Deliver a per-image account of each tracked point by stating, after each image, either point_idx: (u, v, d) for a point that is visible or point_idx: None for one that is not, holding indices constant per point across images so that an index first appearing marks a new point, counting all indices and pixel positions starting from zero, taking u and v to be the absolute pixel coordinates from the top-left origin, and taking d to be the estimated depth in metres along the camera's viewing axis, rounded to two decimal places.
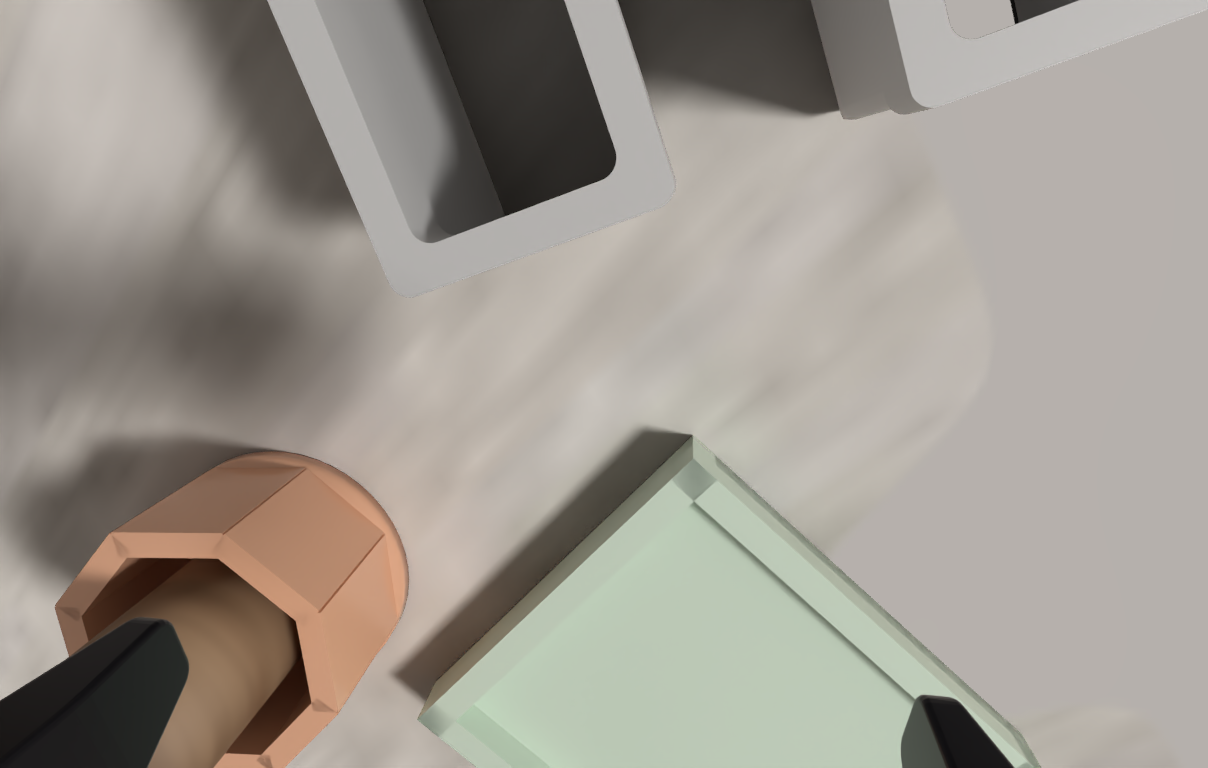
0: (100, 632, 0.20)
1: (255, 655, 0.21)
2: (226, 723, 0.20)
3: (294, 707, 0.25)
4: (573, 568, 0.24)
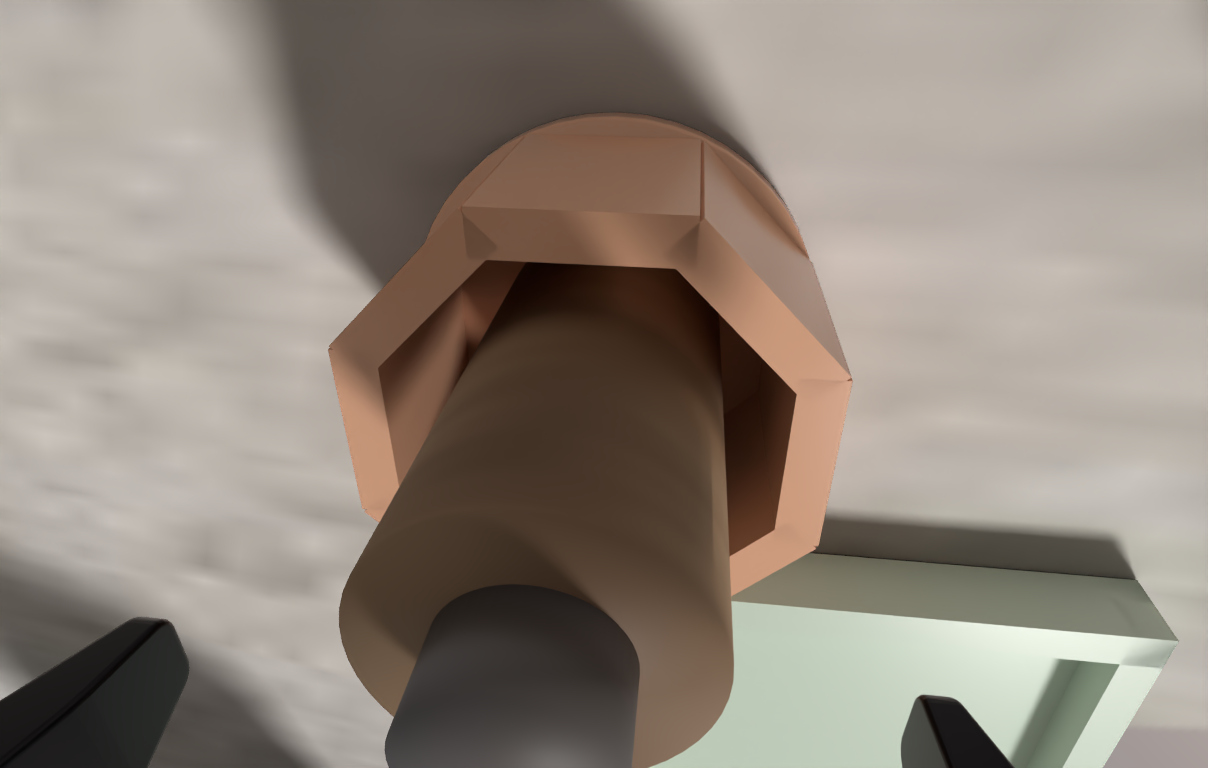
0: (607, 388, 0.10)
1: None
2: None
3: None
4: (936, 611, 0.19)
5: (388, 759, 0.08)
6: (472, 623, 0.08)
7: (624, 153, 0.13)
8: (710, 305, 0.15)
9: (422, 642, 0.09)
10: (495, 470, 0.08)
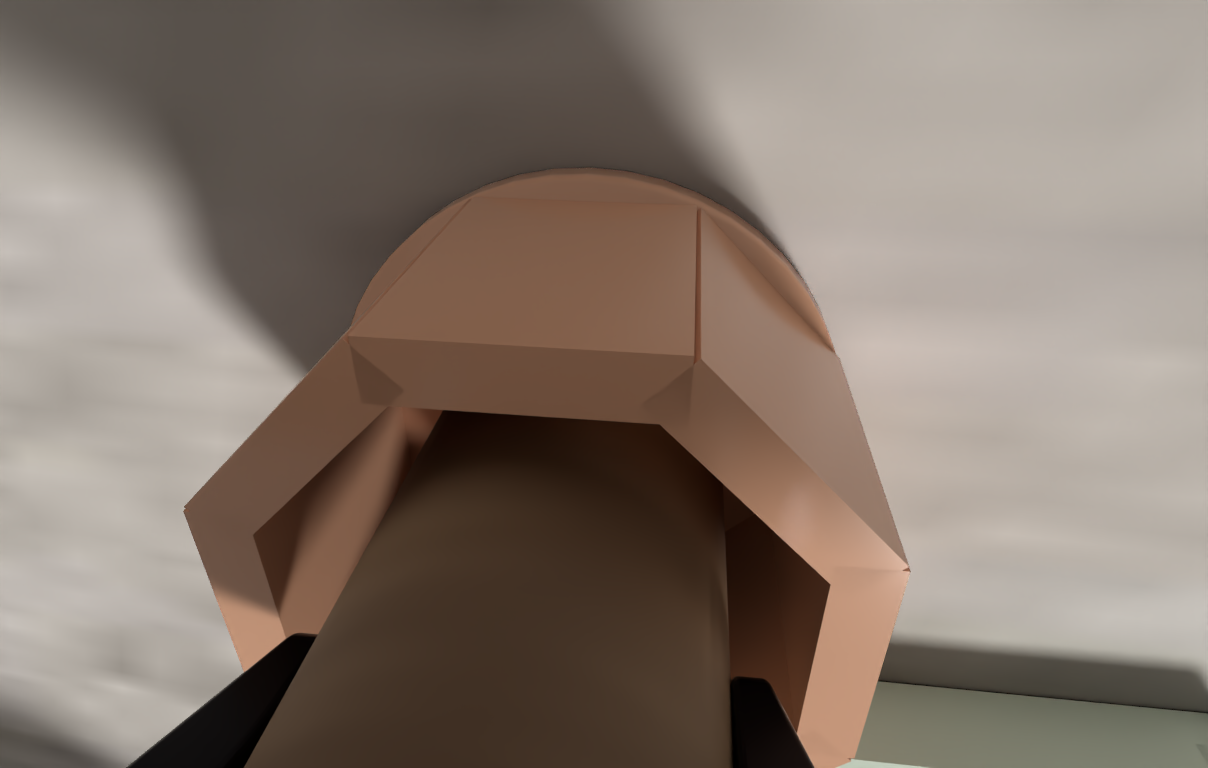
0: (554, 621, 0.07)
1: None
2: None
3: None
4: (984, 761, 0.15)
5: None
6: None
7: (594, 231, 0.10)
8: None
9: None
10: None
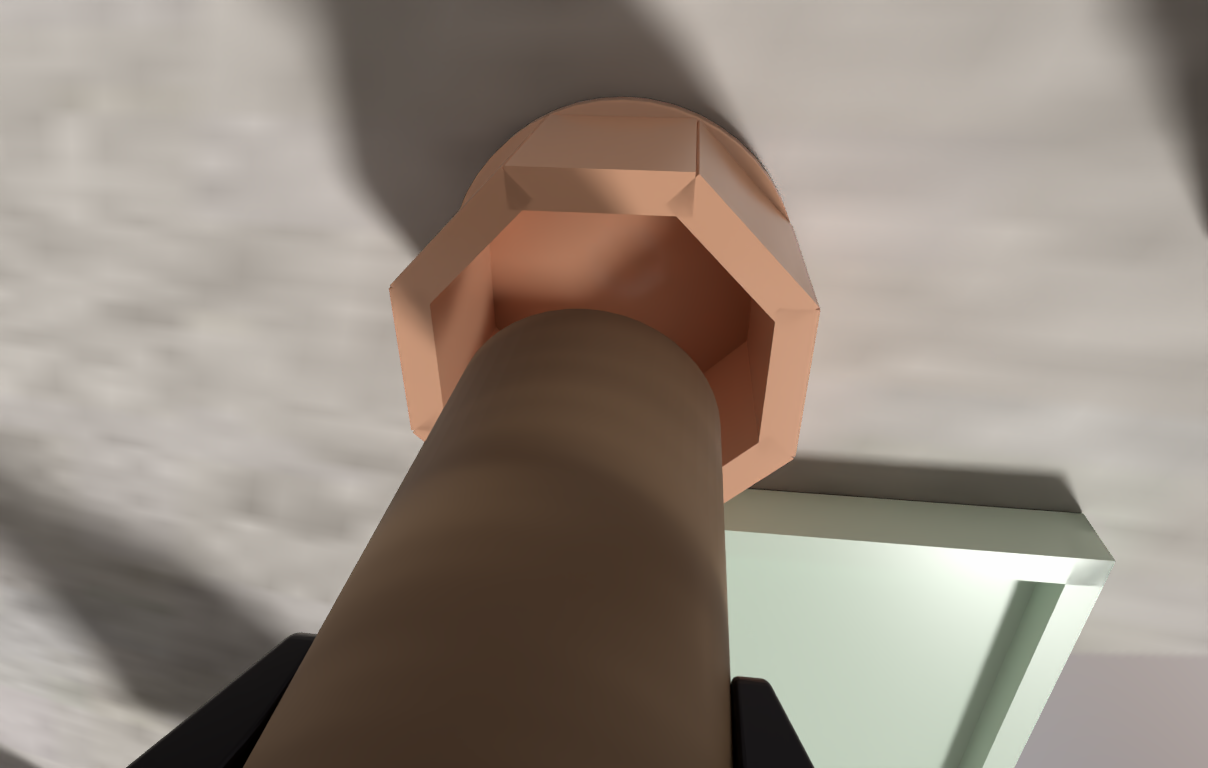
0: (554, 619, 0.07)
1: None
2: None
3: None
4: (905, 538, 0.21)
5: None
6: None
7: (632, 128, 0.16)
8: (709, 414, 0.12)
9: None
10: None
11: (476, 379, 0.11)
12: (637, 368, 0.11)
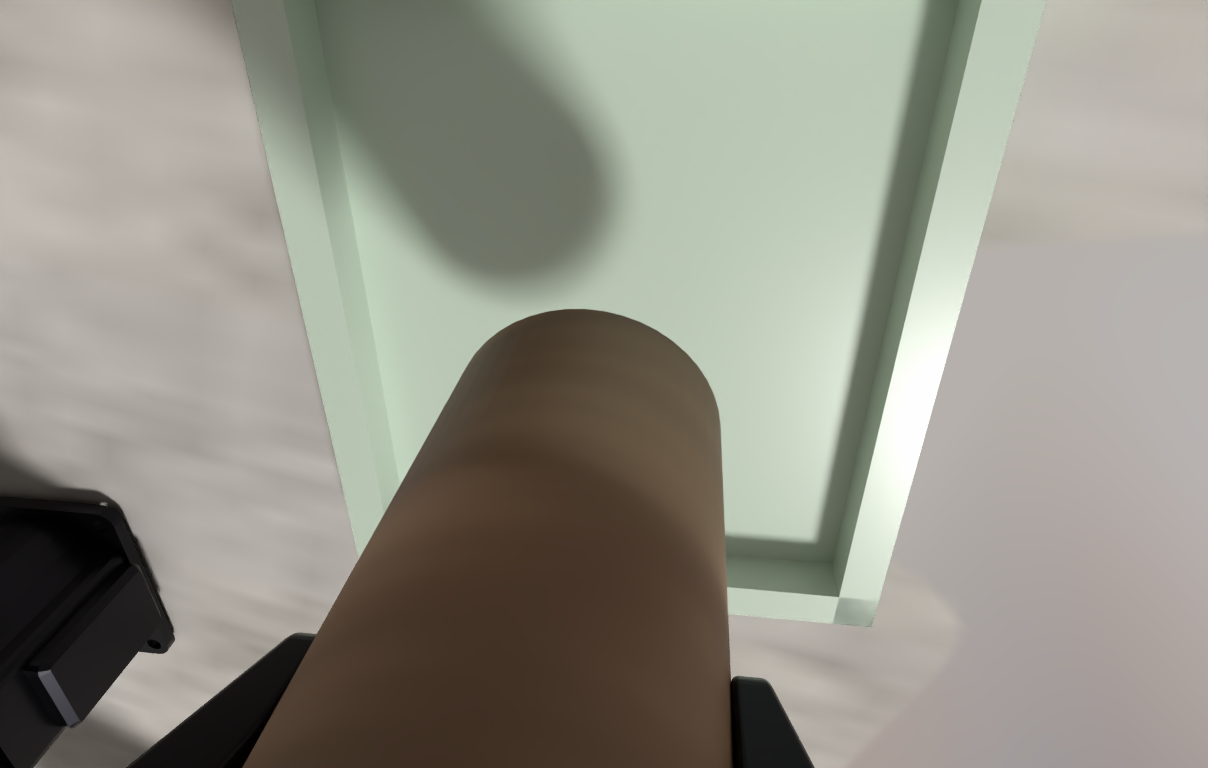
0: (554, 621, 0.07)
1: None
2: None
3: None
4: None
5: None
6: None
7: None
8: (709, 414, 0.12)
9: None
10: None
11: (475, 380, 0.11)
12: (637, 368, 0.11)
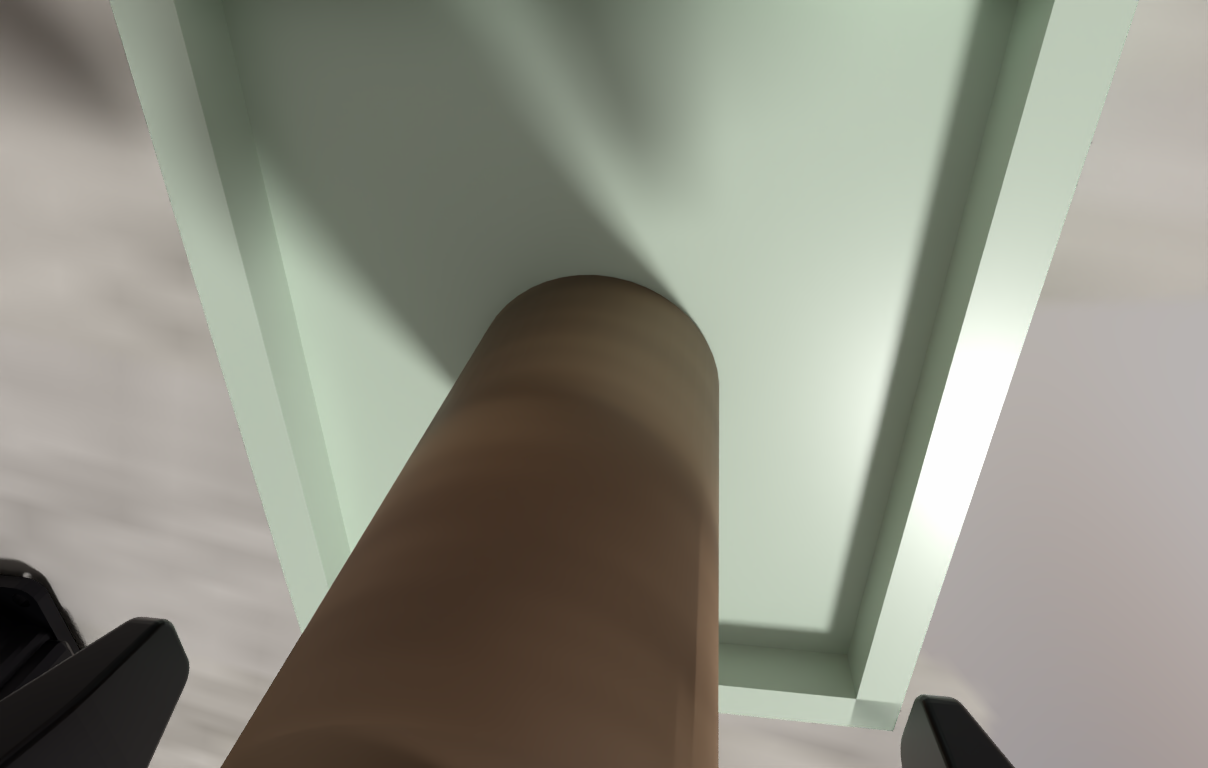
0: (564, 513, 0.08)
1: None
2: None
3: None
4: None
5: None
6: None
7: None
8: (707, 370, 0.13)
9: None
10: (400, 654, 0.06)
11: (497, 334, 0.12)
12: (642, 325, 0.12)
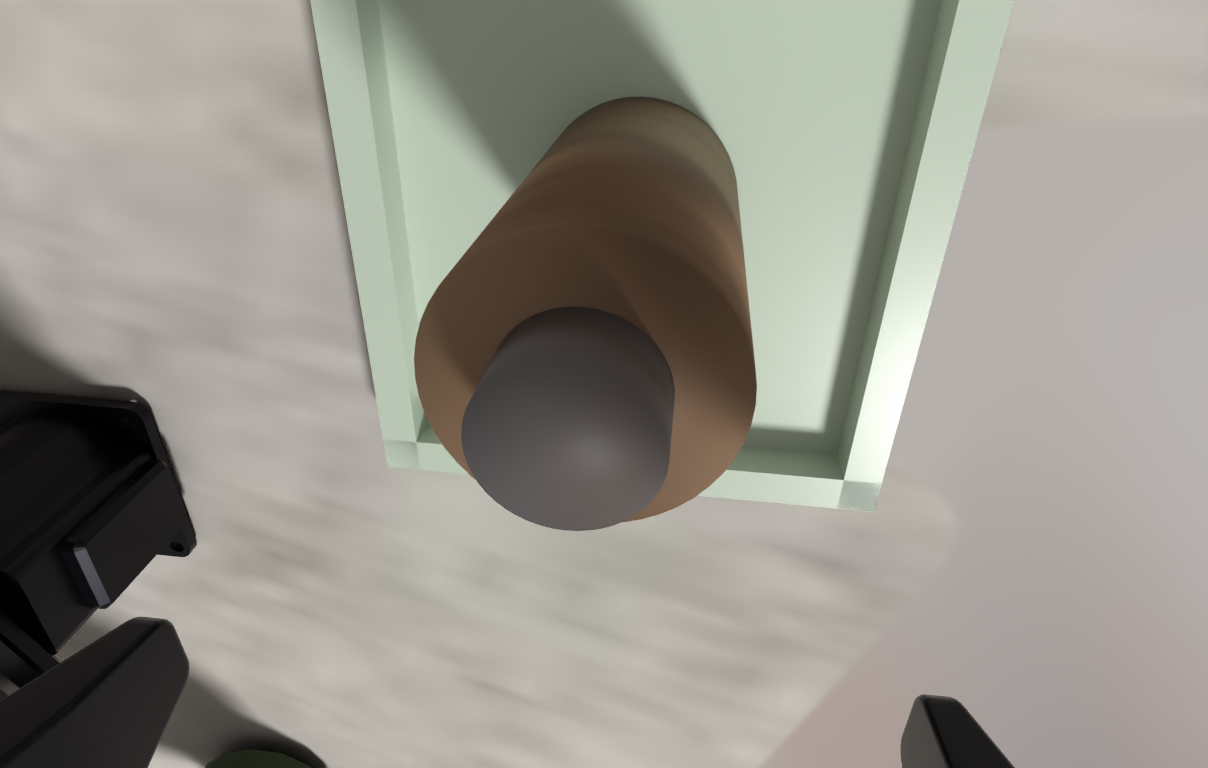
0: (646, 176, 0.11)
1: None
2: None
3: None
4: None
5: (463, 442, 0.09)
6: (536, 328, 0.09)
7: None
8: (730, 168, 0.16)
9: None
10: (555, 210, 0.10)
11: (568, 130, 0.16)
12: (682, 121, 0.15)
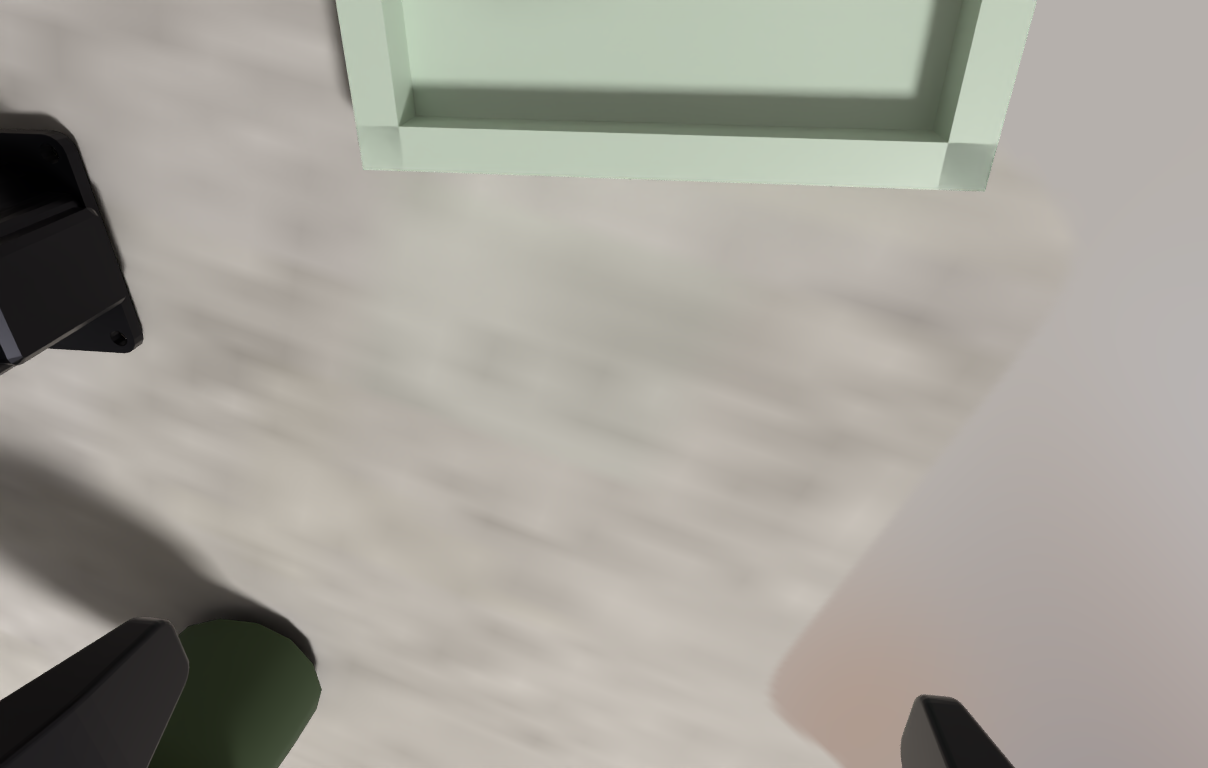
0: None
1: None
2: None
3: None
4: None
5: None
6: None
7: None
8: None
9: None
10: None
11: None
12: None
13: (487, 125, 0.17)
